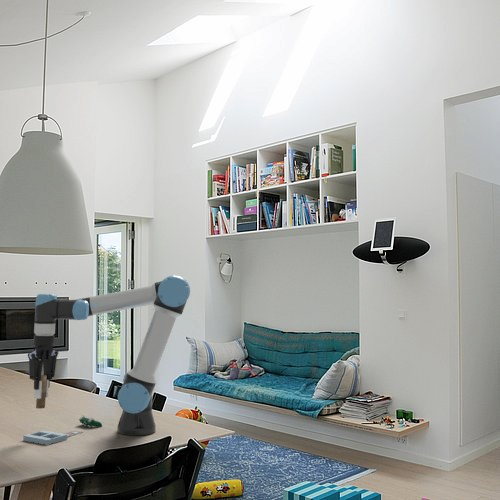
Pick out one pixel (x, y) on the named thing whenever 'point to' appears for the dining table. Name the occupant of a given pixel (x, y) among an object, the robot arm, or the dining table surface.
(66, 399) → the dining table surface
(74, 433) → the card
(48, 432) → the socket board
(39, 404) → the peg
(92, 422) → the gaming controller
